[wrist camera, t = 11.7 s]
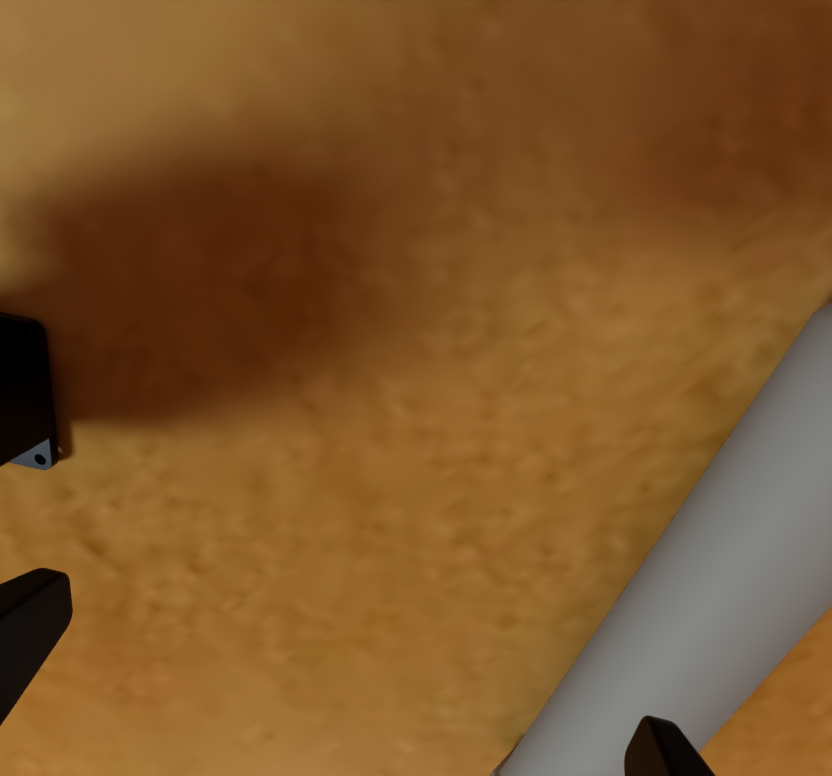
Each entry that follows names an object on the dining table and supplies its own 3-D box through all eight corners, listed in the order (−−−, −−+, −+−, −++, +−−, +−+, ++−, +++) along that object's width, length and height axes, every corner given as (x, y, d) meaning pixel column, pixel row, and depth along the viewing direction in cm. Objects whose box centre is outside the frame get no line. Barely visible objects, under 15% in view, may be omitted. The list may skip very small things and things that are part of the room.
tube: (875, 252, 13) (469, 832, 22) (1156, 353, 11) (590, 929, 20) (819, 252, 17) (505, 730, 27) (1011, 323, 16) (605, 803, 25)
